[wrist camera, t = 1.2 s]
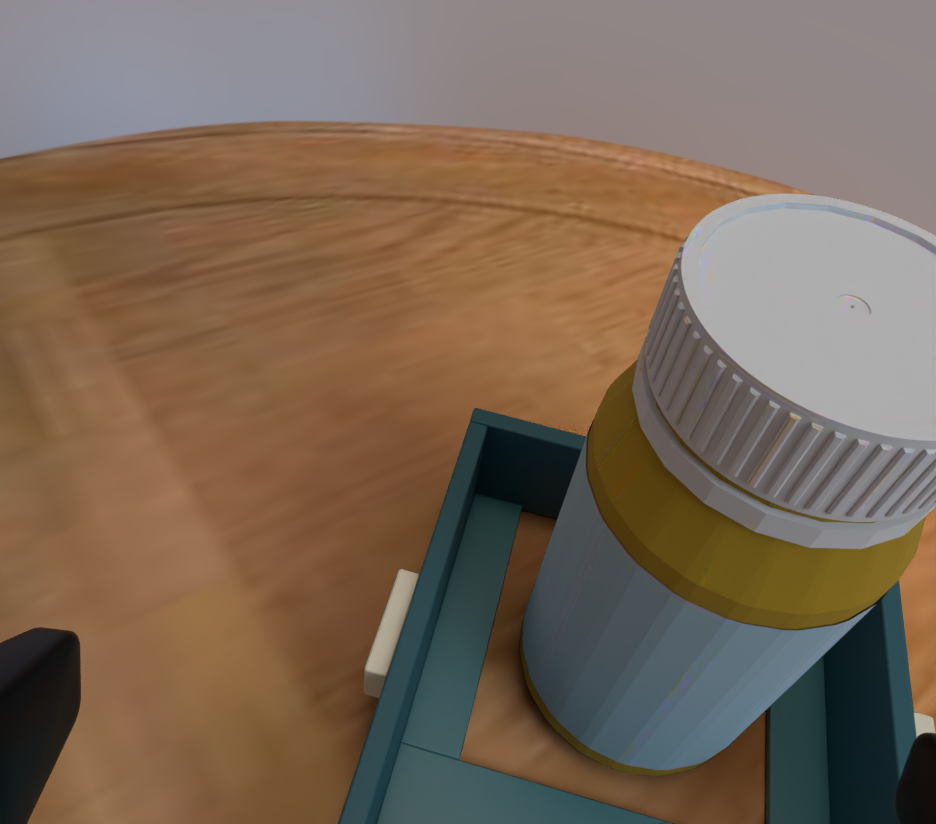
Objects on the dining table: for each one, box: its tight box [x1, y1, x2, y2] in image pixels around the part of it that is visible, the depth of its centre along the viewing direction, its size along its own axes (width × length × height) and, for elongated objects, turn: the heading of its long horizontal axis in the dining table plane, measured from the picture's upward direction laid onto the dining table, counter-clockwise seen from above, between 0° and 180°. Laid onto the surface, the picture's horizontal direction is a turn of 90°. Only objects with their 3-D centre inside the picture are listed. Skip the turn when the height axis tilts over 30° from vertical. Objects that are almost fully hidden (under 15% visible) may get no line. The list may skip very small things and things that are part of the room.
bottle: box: [520, 194, 936, 776], centre depth 20 cm, size 7×7×15 cm
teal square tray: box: [338, 408, 935, 824], centre depth 22 cm, size 15×14×4 cm
